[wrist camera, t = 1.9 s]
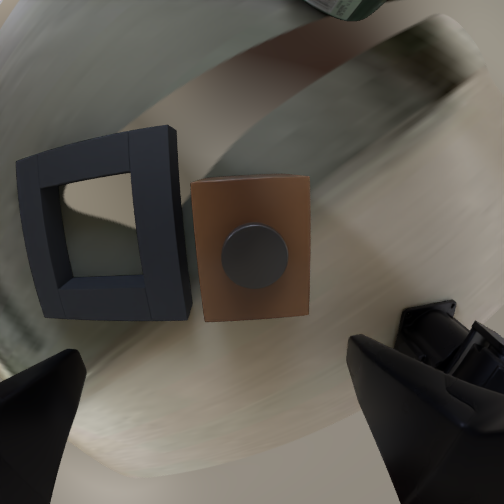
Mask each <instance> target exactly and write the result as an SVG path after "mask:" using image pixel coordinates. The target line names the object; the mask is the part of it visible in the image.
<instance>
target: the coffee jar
mask: <svg viewBox="0 0 504 504" xmlns="http://www.w3.org/2000/svg"><path fill="white" fill-rule="evenodd" d="M303 1H305V2H306V3H308V4H309V5H310V6H312V7H314V8H316V9H317V10H319V11H321V12H323V13H325V14H328V15H330V16H332V17H335V18H337V19H340V20H345V21H360V20H363V19H365V18H367V17H368V16H370V15H371V14H372V13H374V12H375V11H376V10H377V9H378V8H379V7H380V6H381V5H383V4H384V3H385V2H386V1H387V0H303Z"/></svg>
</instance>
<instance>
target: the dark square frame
mask: <svg viewBox="0 0 504 504" xmlns="http://www.w3.org/2000/svg"><path fill="white" fill-rule="evenodd" d="M177 152H178V151H177V131H176V130H175V129H174V128H172V127H170V126H169V125H163V126H155V127H149V128H143V129H137V130H131V131H126V132H121V133H116V134H111V135H106V136H102V137H97V138H93V139H89V140H85V141H81V142H77V143H73V144H69V145H65V146H62V147H58V148H55V149H51V150H48V151H45V152H42V153H39V154H36V155H33V156H30V157H27V158H24V159H21V160H18V161H16V177H17V189H18V200H19V208H20V216H21V223H22V229H23V235H24V240H25V246H26V250H27V255H28V260H29V264H30V268H31V273H32V276H33V280H34V284H35V288H36V291H37V295H38V298H39V301H40V305H41V308H42V311H43V314H44V317H45V318H58V319H76V320H104V321H183V320H188V317H189V314H190V310H191V307H192V304H193V303H192V296H191V289H190V281H189V274H188V265H187V257H186V248H185V239H184V229H183V219H182V208H181V196H180V183H179V170H178V153H177ZM124 173H131V184H132V195H133V205H134V215H135V223H136V231H137V238H138V245H139V252H140V259H141V265H142V271H143V275H124V276H99V277H73V275H72V271H71V266H70V262H69V257H68V252H67V247H66V241H65V236H64V229H63V223H62V216H61V208H60V200H59V190H58V186H59V185H64V184H69V183H74V182H79V181H84V180H89V179H95V178H100V177H106V176H112V175H118V174H124Z"/></svg>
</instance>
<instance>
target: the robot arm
mask: <svg viewBox="0 0 504 504" xmlns="http://www.w3.org/2000/svg"><path fill="white" fill-rule="evenodd" d="M455 308H456V302H455V301H454V300H447V301H442V302H437V303H432V304H427V305H422V306H417V307H411V308H407V309H405V310H404V311H403V313H402V316H401V321H400V326H399V331H398V334H397V338H396V343H395V347H394V349H392V348H390V347H388V346H386V345H384V344H382V343H379V342H377V341H375V340H373V339H371V338H369V337H367V336H365V335H362V334H359V335H354V336H350V337H349V340H348V348H347V356H346V361H347V366H348V369H349V372H350V375H351V379H352V382H353V385H354V389H355V392H356V395H357V399H358V402H359V404H360V407H361V409H362V411H363V413H364V415H365V418H366V420H367V423H368V425H369V427H370V430H371V432H372V434H373V437H374V439H375V441H376V444H377V446H378V448H379V451H380V453H381V456H382V458H383V460H384V463H385V465H386V468H387V470H388V473H389V475H390V477H391V480H392V483H393V485H394V488H395V490H396V493H397V495H398V498H399V501H400V503H401V504H504V338H502V337H501V336H500V335H499V334H498V333H496V332H495V331H493V330H491V329H489V328H488V327H486V326H484V325H482V324H481V323H479V322H477V321H474V323H473V325H472V328H471V330H468V329H467V328H466V327H465V326H464V325H462V324H461V323H460V322H459V321H458V320H456V319H455V318H454V317H453V316H454V312H455ZM408 313H409V314H408ZM407 314H408V315H407ZM406 315H407V316H406ZM86 373H87V371H86V367H85V365H84V362H83V360H82V358H81V355H80V353H79V351H78V350H76V349H66V350H64V351H62V352H60V353H58V354H56V355H54V356H52V357H50V358H48V359H46V360H44V361H42V362H40V363H38V364H36V365H34V366H32V367H30V368H28V369H26V370H24V371H22V372H20V373H18V374H16V375H14V376H12V377H10V378H8V379H6V380H4V381H2V382H0V504H50V503H49V502H51V497H52V492H53V489H54V484H55V480H56V477H57V473H58V469H59V465H60V461H61V458H62V455H63V451H64V448H65V444H66V442H67V439H68V435H69V432H70V429H71V426H72V423H73V420H74V418H75V415H76V412H77V409H78V405H79V401H80V397H81V393H82V389H83V385H84V382H85V378H86Z"/></svg>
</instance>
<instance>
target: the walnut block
mask: <svg viewBox="0 0 504 504" xmlns="http://www.w3.org/2000/svg"><path fill="white" fill-rule="evenodd" d="M190 186H191V199H192V212H193V223H194V234H195V244H196V254H197V263H198V272H199V281H200V289H201V297H202V305H203V313H204V320H205V322H221V321H240V320H256V319H270V318H282V317H293V316H304V315H309V295H310V246H311V217H310V177H309V176H301V175H292V174H259V175H239V176H223V177H209V178H205V179H201V180H197V181H194V182H191V183H190Z"/></svg>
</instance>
